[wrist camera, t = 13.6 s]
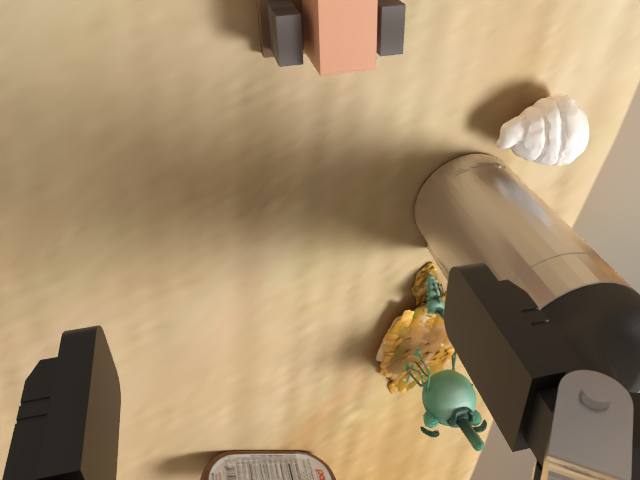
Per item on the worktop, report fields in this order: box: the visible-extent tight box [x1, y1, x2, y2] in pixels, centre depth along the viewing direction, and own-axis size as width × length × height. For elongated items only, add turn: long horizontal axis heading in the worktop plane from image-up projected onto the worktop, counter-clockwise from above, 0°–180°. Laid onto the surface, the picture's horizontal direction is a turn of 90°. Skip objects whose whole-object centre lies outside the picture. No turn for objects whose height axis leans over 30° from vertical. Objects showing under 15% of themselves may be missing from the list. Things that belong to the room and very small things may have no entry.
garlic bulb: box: [496, 95, 589, 166], centre depth 46 cm, size 6×6×5 cm
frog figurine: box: [376, 263, 487, 451], centre depth 55 cm, size 10×18×15 cm, turn 167°
